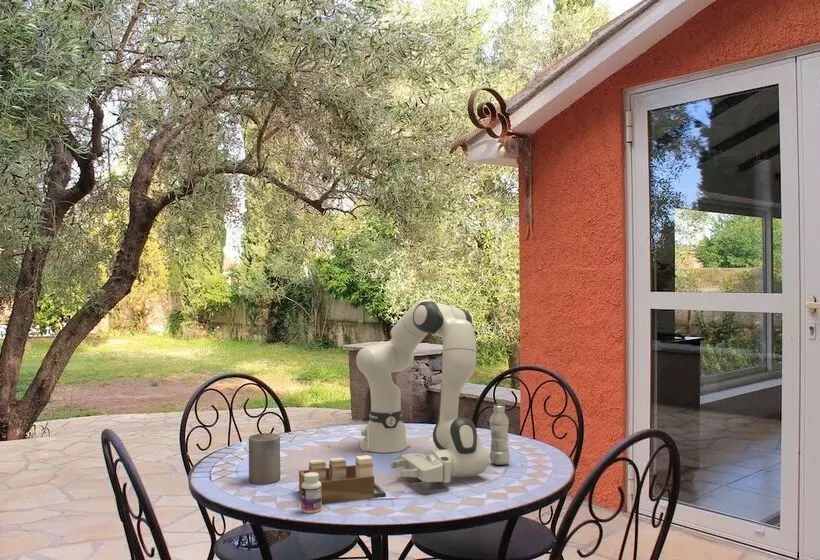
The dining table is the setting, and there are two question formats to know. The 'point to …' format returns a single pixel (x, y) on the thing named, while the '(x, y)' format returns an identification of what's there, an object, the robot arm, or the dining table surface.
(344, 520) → the dining table surface
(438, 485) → the pad
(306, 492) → the pill bottle
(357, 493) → the dispenser
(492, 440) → the plastic bottle
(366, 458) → the banded cream pillar
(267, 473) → the pillar candle
